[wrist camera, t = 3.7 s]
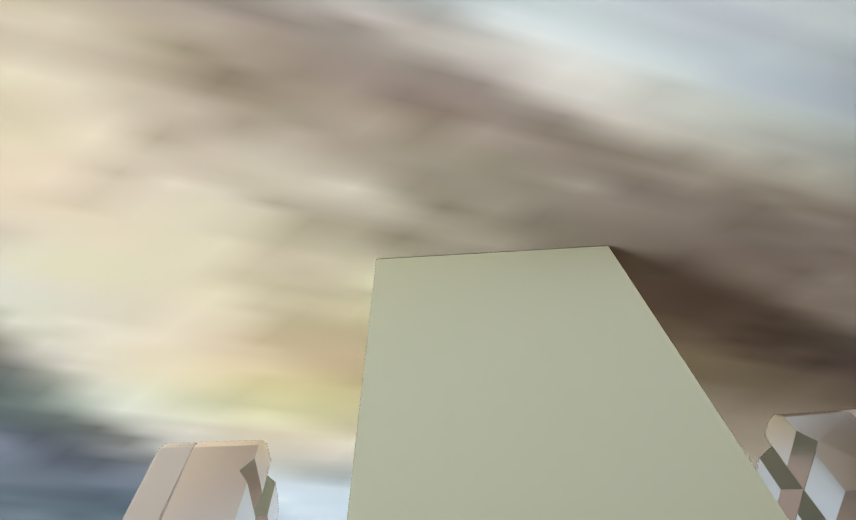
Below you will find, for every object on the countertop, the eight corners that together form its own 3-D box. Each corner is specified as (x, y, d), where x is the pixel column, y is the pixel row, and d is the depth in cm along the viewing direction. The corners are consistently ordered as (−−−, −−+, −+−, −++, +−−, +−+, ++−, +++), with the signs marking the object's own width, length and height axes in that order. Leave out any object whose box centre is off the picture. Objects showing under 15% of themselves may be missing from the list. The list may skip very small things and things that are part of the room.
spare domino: (375, 259, 14) (248, 1402, 3) (608, 245, 14) (1332, 1342, 3) (382, 322, 14) (297, 1428, 4) (603, 309, 14) (1171, 1382, 4)
